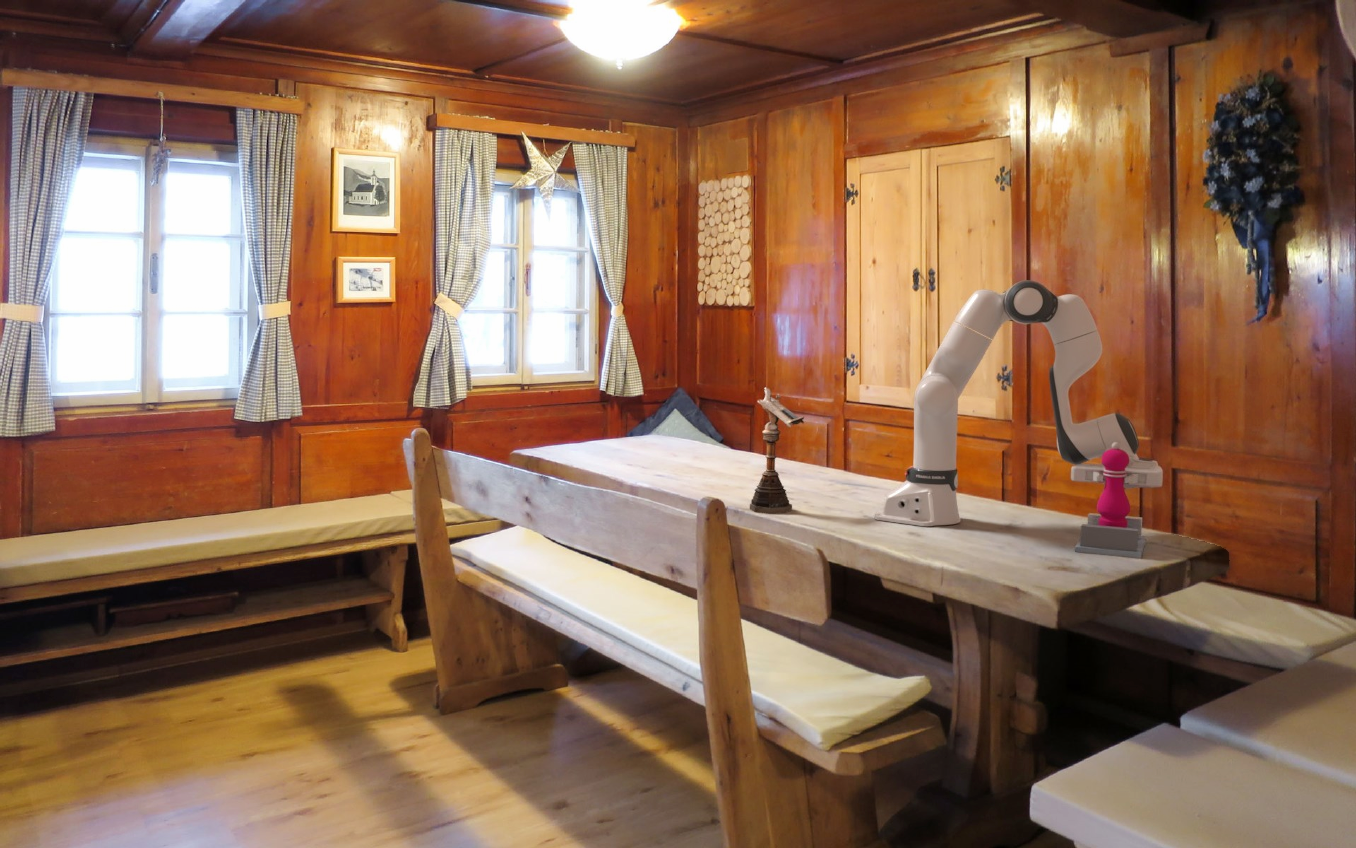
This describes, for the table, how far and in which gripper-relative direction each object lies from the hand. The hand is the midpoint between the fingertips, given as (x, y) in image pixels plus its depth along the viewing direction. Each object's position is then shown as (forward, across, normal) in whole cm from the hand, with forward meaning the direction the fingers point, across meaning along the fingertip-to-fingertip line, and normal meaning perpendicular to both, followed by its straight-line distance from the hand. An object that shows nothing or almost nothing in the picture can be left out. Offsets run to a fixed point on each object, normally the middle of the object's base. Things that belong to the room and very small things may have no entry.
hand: (1113, 479), depth 237 cm
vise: (-3, 0, +16) cm, 17 cm away
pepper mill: (-1, 0, +12) cm, 12 cm away
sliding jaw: (-10, 0, +15) cm, 18 cm away
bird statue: (-9, -87, +16) cm, 89 cm away
